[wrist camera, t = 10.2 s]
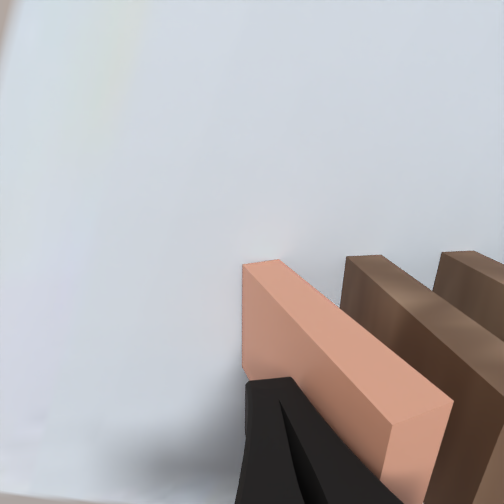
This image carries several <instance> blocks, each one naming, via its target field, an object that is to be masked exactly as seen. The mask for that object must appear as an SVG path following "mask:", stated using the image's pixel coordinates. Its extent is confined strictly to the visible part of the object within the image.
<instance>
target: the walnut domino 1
mask: <svg viewBox="0 0 504 504" xmlns="http://www.w3.org/2000/svg"><path fill="white" fill-rule="evenodd" d="M340 309H341V310H342V311H343V312H345V313H346V314H347V315H348V316H350V317H351V318H352V319H353V320H355V321H356V322H357V323H358V324H360V325H361V326H362V327H363V328H364V329H366V330H367V331H368V332H369V333H371V334H372V335H373V336H374V337H376V338H377V339H378V340H379V341H381V342H382V343H383V344H384V345H385V346H387V347H388V348H389V349H390V350H392V351H393V352H394V353H395V354H397V355H398V356H399V357H400V358H402V359H403V360H404V361H405V362H406V363H408V364H409V365H410V366H411V367H413V368H414V369H415V370H416V371H418V372H419V373H420V374H421V375H423V376H424V377H425V378H426V379H427V380H429V381H430V382H431V383H432V384H434V385H435V386H436V387H437V388H439V389H440V390H441V391H442V392H444V393H445V394H446V395H447V396H448V397H450V398H451V399H452V400H453V401H454V402H453V406H452V409H451V412H450V415H449V419H448V422H447V425H446V429H445V432H444V435H443V438H442V442H441V445H440V448H439V452H438V455H437V458H436V461H435V465H434V468H433V471H432V474H431V478H430V481H429V484H428V488H427V491H426V494H425V497H424V501H423V503H424V504H504V342H503V341H502V340H500V339H499V338H497V337H496V336H495V335H493V334H492V333H490V332H489V331H488V330H486V329H485V328H483V327H482V326H481V325H479V324H478V323H476V322H475V321H474V320H472V319H471V318H469V317H468V316H466V315H465V314H464V313H462V312H461V311H459V310H458V309H457V308H455V307H454V306H452V305H451V304H450V303H448V302H447V301H445V300H444V299H443V298H441V297H440V296H438V295H437V294H436V293H434V292H433V291H431V290H430V289H429V288H427V287H426V286H424V285H423V284H422V283H420V282H419V281H417V280H416V279H415V278H413V277H412V276H410V275H409V274H408V273H406V272H405V271H403V270H402V269H401V268H399V267H398V266H396V265H395V264H394V263H392V262H391V261H389V260H388V259H386V258H385V257H384V256H382V255H367V256H346V264H345V271H344V279H343V287H342V295H341V303H340Z"/></svg>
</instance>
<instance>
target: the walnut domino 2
mask: <svg viewBox="0 0 504 504" xmlns="http://www.w3.org/2000/svg"><path fill="white" fill-rule="evenodd" d="M433 292H434V293H436V294H437V295H438V296H440V297H441V298H443V299H444V300H445V301H447V302H448V303H450V304H451V305H452V306H454V307H455V308H457V309H458V310H459V311H461V312H462V313H464V314H465V315H466V316H468V317H469V318H471V319H472V320H474V321H475V322H476V323H478V324H479V325H481V326H482V327H483V328H485V329H486V330H488V331H489V332H490V333H492V334H493V335H495V336H496V337H497V338H499V339H500V340H502V341H503V342H504V264H502V263H499V262H497V261H495V260H493V259H491V258H489V257H486V256H484V255H482V254H480V253H478V252H475V251H456V252H442V254H441V258H440V262H439V266H438V270H437V275H436V279H435V283H434V287H433Z"/></svg>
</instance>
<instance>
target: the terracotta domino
mask: <svg viewBox="0 0 504 504" xmlns="http://www.w3.org/2000/svg"><path fill="white" fill-rule="evenodd" d="M242 367H243V369H244V371H245V373H246V375H247V377H248V378H249V380H250V381H251V380H261V379H271V378H281V377H292V378H293V379H294V380H295V382H296V383H297V385H298V386H299V387H300V389H301V390H302V392H303V393H304V394H305V396H306V397H307V398H308V399H309V401H310V402H311V403H312V405H313V406H314V407H315V408H316V410H317V411H318V412H319V414H320V415H321V416H322V417H323V418H324V420H325V421H326V422H327V423H328V424H329V426H330V427H331V428H332V429H333V430H334V431H335V433H336V434H337V435H338V436H339V437H340V438H341V440H342V441H343V442H344V443H345V444H346V445H347V446H348V447H349V449H350V450H351V451H352V452H353V453H354V454H355V455H356V456H357V457H358V458H359V459H360V460H361V462H362V463H363V464H364V465H365V466H366V467H367V468H368V469H369V470H370V471H371V472H372V473H373V474H374V475H375V476H376V477H377V478H378V479H379V480H380V481H381V482H382V483H383V484H384V485H385V486H386V487H387V488H388V489H389V490H390V491H391V492H392V493H393V494H394V495H395V496H397V497H398V498H399V499H400V500H401V501H402V502H403V503H404V504H423V501H424V497H425V494H426V491H427V488H428V484H429V481H430V478H431V474H432V471H433V468H434V465H435V461H436V458H437V455H438V452H439V448H440V445H441V442H442V438H443V435H444V432H445V429H446V425H447V422H448V419H449V415H450V412H451V409H452V406H453V402H454V401H453V400H452V399H451V398H450V397H448V396H447V395H446V394H445V393H444V392H442V391H441V390H440V389H439V388H437V387H436V386H435V385H434V384H432V383H431V382H430V381H429V380H427V379H426V378H425V377H424V376H423V375H421V374H420V373H419V372H418V371H416V370H415V369H414V368H413V367H411V366H410V365H409V364H408V363H406V362H405V361H404V360H403V359H402V358H400V357H399V356H398V355H397V354H395V353H394V352H393V351H392V350H390V349H389V348H388V347H387V346H385V345H384V344H383V343H382V342H381V341H379V340H378V339H377V338H376V337H374V336H373V335H372V334H371V333H369V332H368V331H367V330H366V329H364V328H363V327H362V326H361V325H360V324H358V323H357V322H356V321H355V320H353V319H352V318H351V317H350V316H348V315H347V314H346V313H345V312H343V311H342V310H341V309H340V308H339V307H337V306H336V305H335V304H334V303H332V302H331V301H330V300H329V299H327V298H326V297H325V296H324V295H322V294H321V293H320V292H319V291H318V290H316V289H315V288H314V287H313V286H311V285H310V284H309V283H308V282H306V281H305V280H304V279H303V278H301V277H300V276H299V275H298V274H297V273H295V272H294V271H293V270H292V269H290V268H289V267H288V266H287V265H285V264H284V263H283V262H282V261H280V260H279V259H277V260H271V261H264V262H257V263H250V264H243V280H242Z"/></svg>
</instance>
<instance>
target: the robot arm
mask: <svg viewBox="0 0 504 504" xmlns="http://www.w3.org/2000/svg"><path fill="white" fill-rule="evenodd" d="M245 435H246V441H245V449H244V456H243V462H242V468H241V473H240V479H239V485H238V490H237V495H236V500H235V504H404V503H403V502H402V501H401V500H400V499H399V498H398V497H397V496H395V495H394V494H393V493H392V492H391V491H390V490H389V489H388V488H387V487H386V486H385V485H384V484H383V483H382V482H381V481H380V480H379V479H378V478H377V477H376V476H375V475H374V474H373V473H372V472H371V471H370V470H369V469H368V468H367V467H366V466H365V465H364V464H363V463H362V462H361V460H360V459H359V458H358V457H357V456H356V455H355V454H354V453H353V452H352V451H351V450H350V449H349V447H348V446H347V445H346V444H345V443H344V442H343V441H342V440H341V438H340V437H339V436H338V435H337V434H336V433H335V431H334V430H333V429H332V428H331V427H330V426H329V424H328V423H327V422H326V421H325V420H324V418H323V417H322V416H321V415H320V414H319V412H318V411H317V410H316V408H315V407H314V406H313V405H312V403H311V402H310V401H309V399H308V398H307V397H306V396H305V394H304V393H303V392H302V390H301V389H300V387H299V386H298V385H297V383H296V382H295V380H294V379H293V378H292V377H281V378H271V379H261V380H251V381H249V382H247V383H246V385H245Z"/></svg>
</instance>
